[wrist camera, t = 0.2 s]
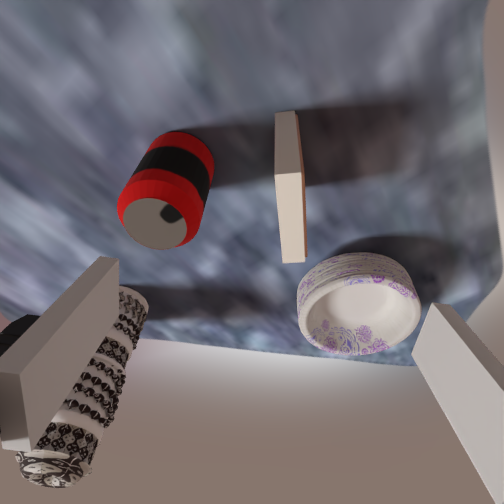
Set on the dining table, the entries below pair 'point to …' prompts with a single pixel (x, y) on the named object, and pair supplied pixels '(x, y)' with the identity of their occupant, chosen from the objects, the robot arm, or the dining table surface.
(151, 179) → the soda can
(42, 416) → the robot arm
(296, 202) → the block
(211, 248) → the dining table surface
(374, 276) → the paper bowls
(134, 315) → the decorative candle
